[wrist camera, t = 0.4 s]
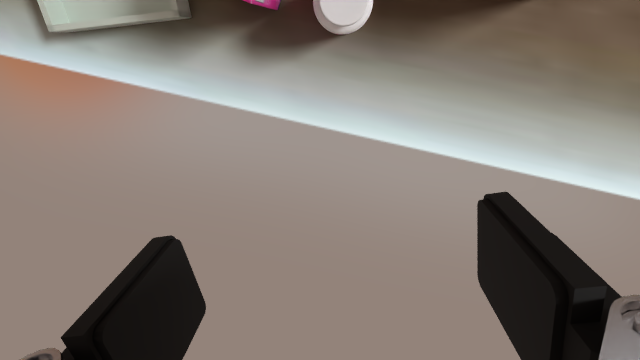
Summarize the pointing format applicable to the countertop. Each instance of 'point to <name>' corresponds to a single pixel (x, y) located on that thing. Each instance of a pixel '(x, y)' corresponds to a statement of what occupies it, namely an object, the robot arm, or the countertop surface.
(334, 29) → the pill bottle
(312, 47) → the countertop surface
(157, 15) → the tray
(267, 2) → the supplement box
